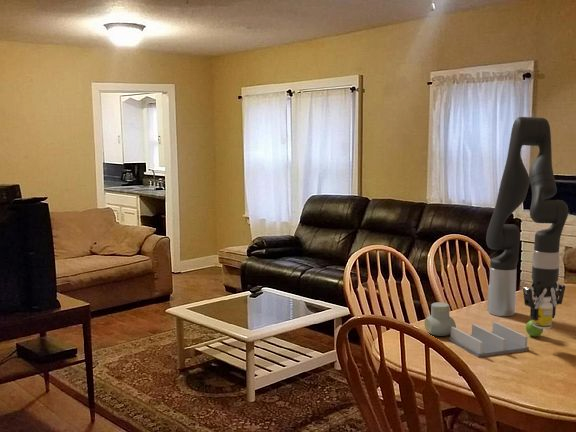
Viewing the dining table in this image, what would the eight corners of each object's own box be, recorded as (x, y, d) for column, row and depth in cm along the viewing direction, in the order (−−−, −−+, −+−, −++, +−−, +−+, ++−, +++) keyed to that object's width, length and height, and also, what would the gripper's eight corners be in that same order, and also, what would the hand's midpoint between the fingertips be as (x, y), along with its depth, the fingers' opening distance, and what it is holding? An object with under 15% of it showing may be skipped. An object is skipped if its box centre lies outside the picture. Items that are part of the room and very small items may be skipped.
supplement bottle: (529, 323, 189) (531, 293, 188) (546, 323, 190) (548, 293, 188) (537, 329, 184) (539, 298, 182) (555, 329, 184) (557, 298, 183)
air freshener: (422, 329, 207) (423, 300, 206) (445, 328, 208) (446, 299, 207) (433, 339, 197) (433, 309, 195) (457, 338, 197) (458, 308, 196)
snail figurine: (542, 333, 201) (543, 298, 200) (543, 339, 195) (545, 303, 194) (524, 331, 203) (526, 297, 202) (525, 337, 197) (527, 302, 196)
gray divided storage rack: (448, 340, 195) (448, 326, 195) (496, 334, 201) (496, 321, 200) (478, 357, 180) (478, 342, 180) (528, 350, 186) (529, 336, 185)
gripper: (556, 260, 189) (553, 312, 192) (517, 264, 185) (514, 317, 188) (574, 266, 182) (570, 320, 185) (534, 269, 178) (531, 325, 181)
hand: (542, 318), depth 186 cm, fingers closed on supplement bottle, 5 cm apart
